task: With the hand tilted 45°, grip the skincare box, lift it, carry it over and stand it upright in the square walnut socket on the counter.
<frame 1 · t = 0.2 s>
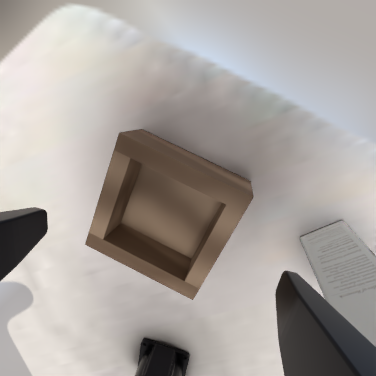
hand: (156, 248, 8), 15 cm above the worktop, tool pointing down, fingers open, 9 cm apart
skincare box: (330, 250, 22), on the worktop
walnut socket: (173, 204, 24), on the worktop
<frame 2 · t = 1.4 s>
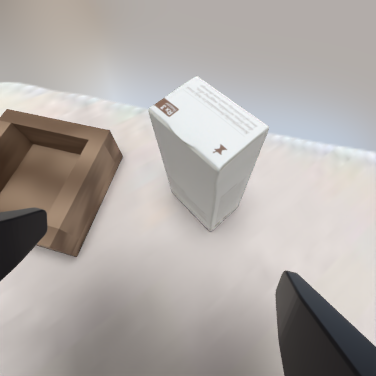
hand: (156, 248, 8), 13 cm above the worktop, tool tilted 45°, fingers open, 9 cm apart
skincare box: (202, 199, 24), on the worktop
walnut socket: (52, 189, 25), on the worktop
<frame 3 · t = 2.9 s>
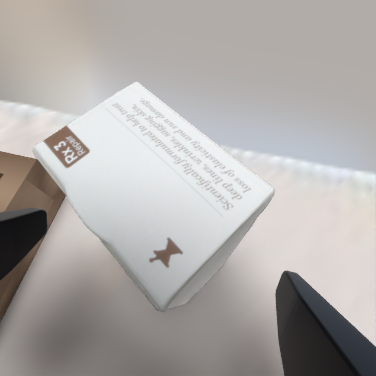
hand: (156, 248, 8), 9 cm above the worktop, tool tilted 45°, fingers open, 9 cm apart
skincare box: (176, 251, 17), on the worktop
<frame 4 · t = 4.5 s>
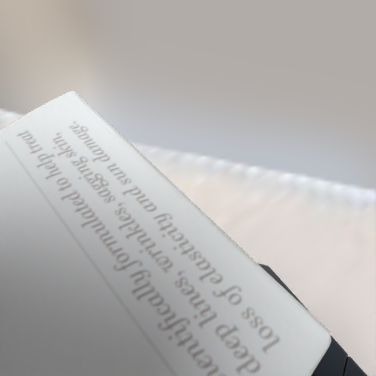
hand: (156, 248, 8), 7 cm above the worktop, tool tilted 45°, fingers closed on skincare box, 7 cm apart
skincare box: (164, 293, 14), on the worktop, touching gripper
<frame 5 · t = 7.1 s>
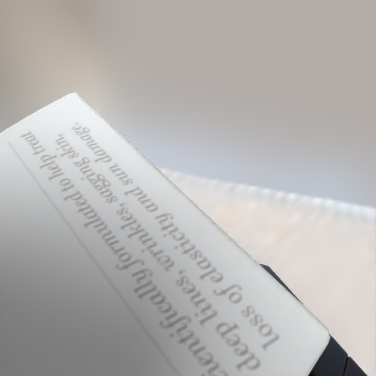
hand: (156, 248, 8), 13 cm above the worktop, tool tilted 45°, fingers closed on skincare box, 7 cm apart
skincare box: (165, 293, 14), point 6 cm above the worktop, touching gripper
when the fingers open (9 cm above the worktop, at t = 10.0 s): skincare box stays where it is, resting on walnut socket.
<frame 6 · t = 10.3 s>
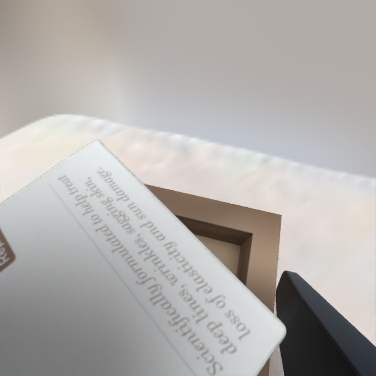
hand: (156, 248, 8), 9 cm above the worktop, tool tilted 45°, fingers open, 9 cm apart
skincare box: (165, 296, 15), point 1 cm above the worktop, touching walnut socket
walnut socket: (167, 293, 16), on the worktop
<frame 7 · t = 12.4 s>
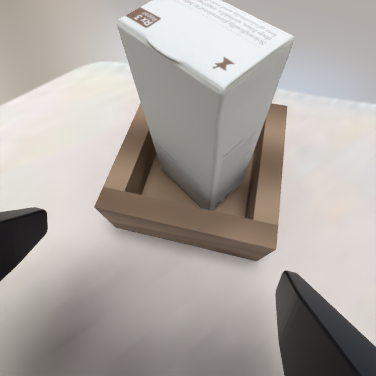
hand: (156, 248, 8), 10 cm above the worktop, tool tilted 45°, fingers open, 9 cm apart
skincare box: (198, 177, 20), point 1 cm above the worktop, touching walnut socket
walnut socket: (199, 180, 21), on the worktop
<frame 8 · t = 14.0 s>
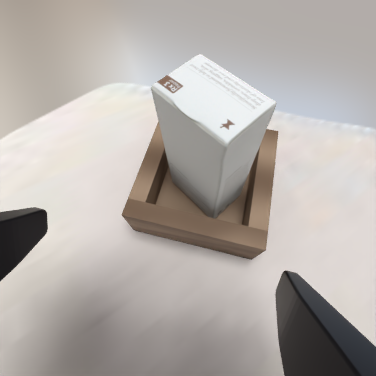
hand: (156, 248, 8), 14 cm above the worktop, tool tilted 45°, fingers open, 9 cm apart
skincare box: (203, 189, 24), point 1 cm above the worktop, touching walnut socket
walnut socket: (204, 191, 24), on the worktop
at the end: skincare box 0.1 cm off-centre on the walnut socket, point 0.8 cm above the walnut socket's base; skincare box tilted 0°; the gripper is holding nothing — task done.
